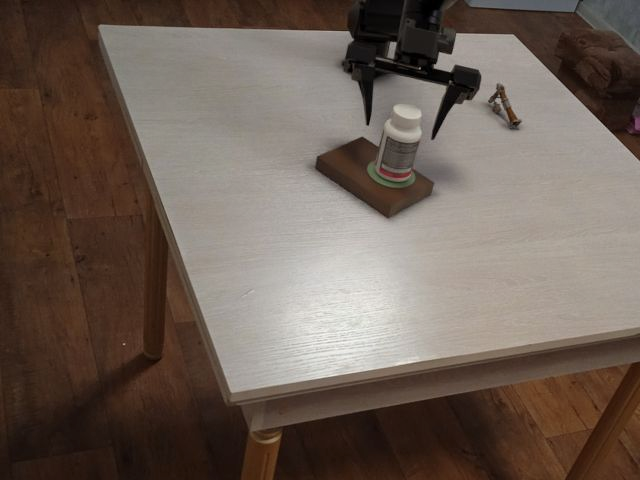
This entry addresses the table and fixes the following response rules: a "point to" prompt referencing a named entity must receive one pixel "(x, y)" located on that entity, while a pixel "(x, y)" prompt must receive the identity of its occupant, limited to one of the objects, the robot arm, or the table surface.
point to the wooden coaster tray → (371, 177)
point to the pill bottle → (399, 143)
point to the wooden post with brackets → (506, 104)
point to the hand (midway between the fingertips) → (400, 132)
